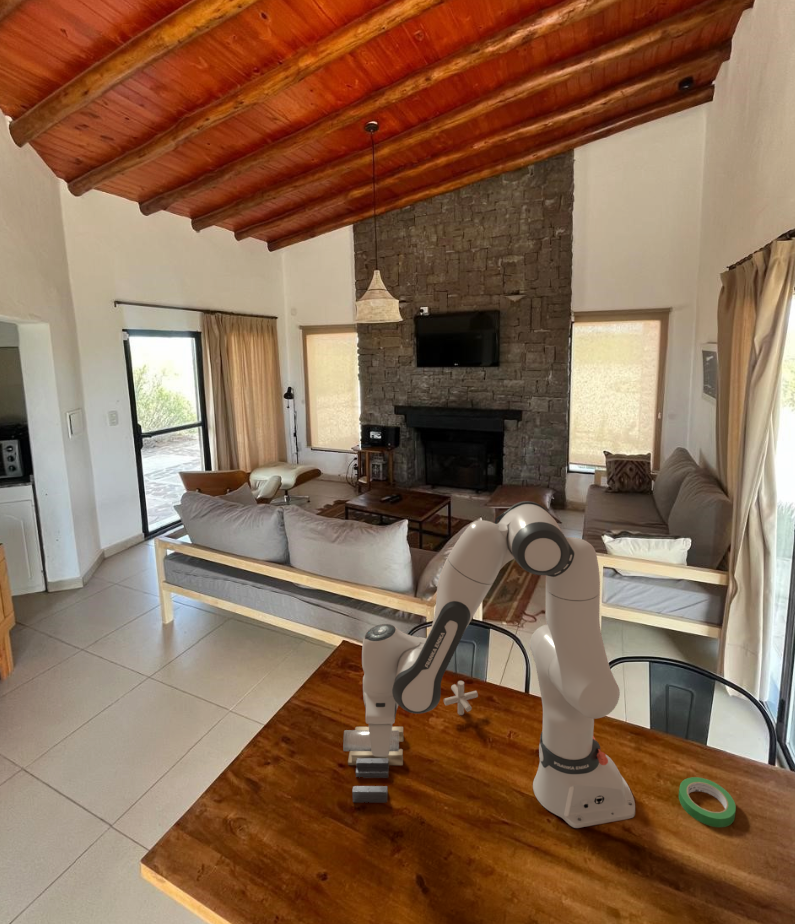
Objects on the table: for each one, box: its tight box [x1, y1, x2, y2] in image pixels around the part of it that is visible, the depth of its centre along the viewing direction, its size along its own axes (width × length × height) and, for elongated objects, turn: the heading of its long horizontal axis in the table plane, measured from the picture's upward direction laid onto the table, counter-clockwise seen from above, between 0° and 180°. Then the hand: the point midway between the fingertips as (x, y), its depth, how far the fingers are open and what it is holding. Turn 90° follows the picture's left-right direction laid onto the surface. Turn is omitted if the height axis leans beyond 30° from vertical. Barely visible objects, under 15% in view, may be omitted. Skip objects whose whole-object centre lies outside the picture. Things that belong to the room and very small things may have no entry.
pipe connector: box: [443, 680, 479, 716], centre depth 148 cm, size 10×10×10 cm
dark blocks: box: [351, 758, 390, 804], centre depth 126 cm, size 8×10×3 cm
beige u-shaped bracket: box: [347, 726, 404, 766], centre depth 136 cm, size 14×10×3 cm
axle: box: [342, 729, 400, 752], centre depth 123 cm, size 13×4×4 cm, turn 89°
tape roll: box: [678, 776, 737, 828], centre depth 118 cm, size 11×11×3 cm
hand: (383, 742), depth 123 cm, fingers closed on axle, 4 cm apart
